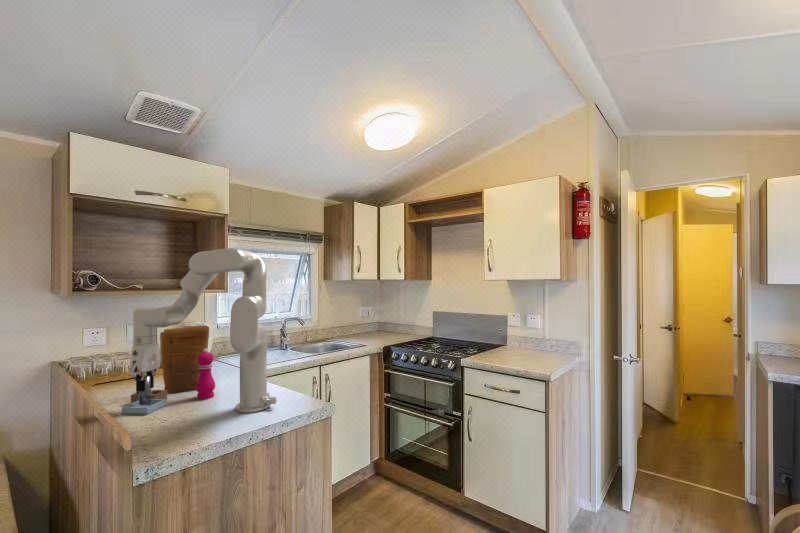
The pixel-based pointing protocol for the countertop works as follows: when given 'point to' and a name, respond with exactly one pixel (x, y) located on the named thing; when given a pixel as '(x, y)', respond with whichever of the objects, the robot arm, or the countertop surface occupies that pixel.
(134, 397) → the tensioner block
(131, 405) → the tray
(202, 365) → the pepper mill
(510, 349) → the countertop surface
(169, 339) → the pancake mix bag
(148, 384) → the lock pin
